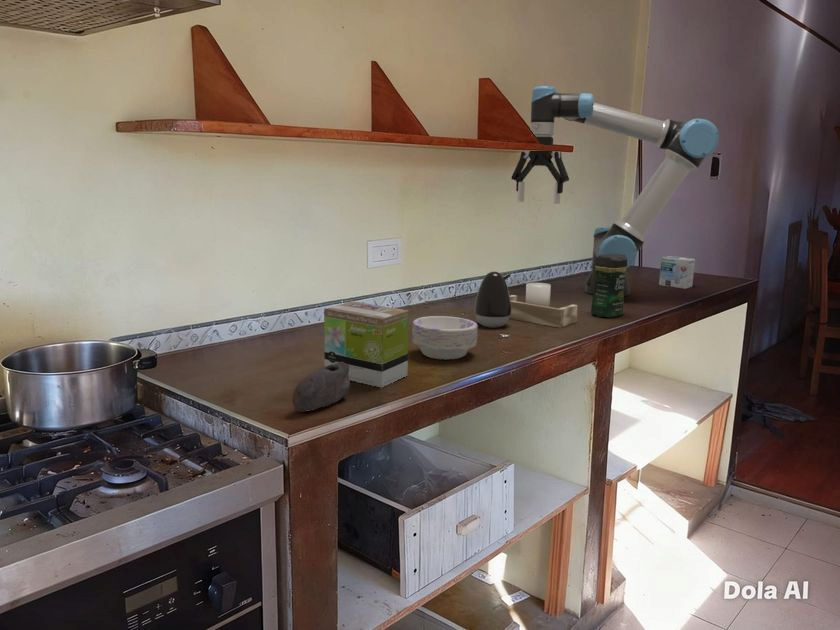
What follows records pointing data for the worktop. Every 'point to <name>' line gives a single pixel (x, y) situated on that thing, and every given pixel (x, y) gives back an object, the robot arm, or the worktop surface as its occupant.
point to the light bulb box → (677, 272)
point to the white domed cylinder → (538, 294)
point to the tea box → (367, 341)
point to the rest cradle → (543, 313)
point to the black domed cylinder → (493, 301)
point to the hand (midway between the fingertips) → (538, 202)
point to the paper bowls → (444, 336)
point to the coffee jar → (609, 285)
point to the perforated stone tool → (322, 387)
